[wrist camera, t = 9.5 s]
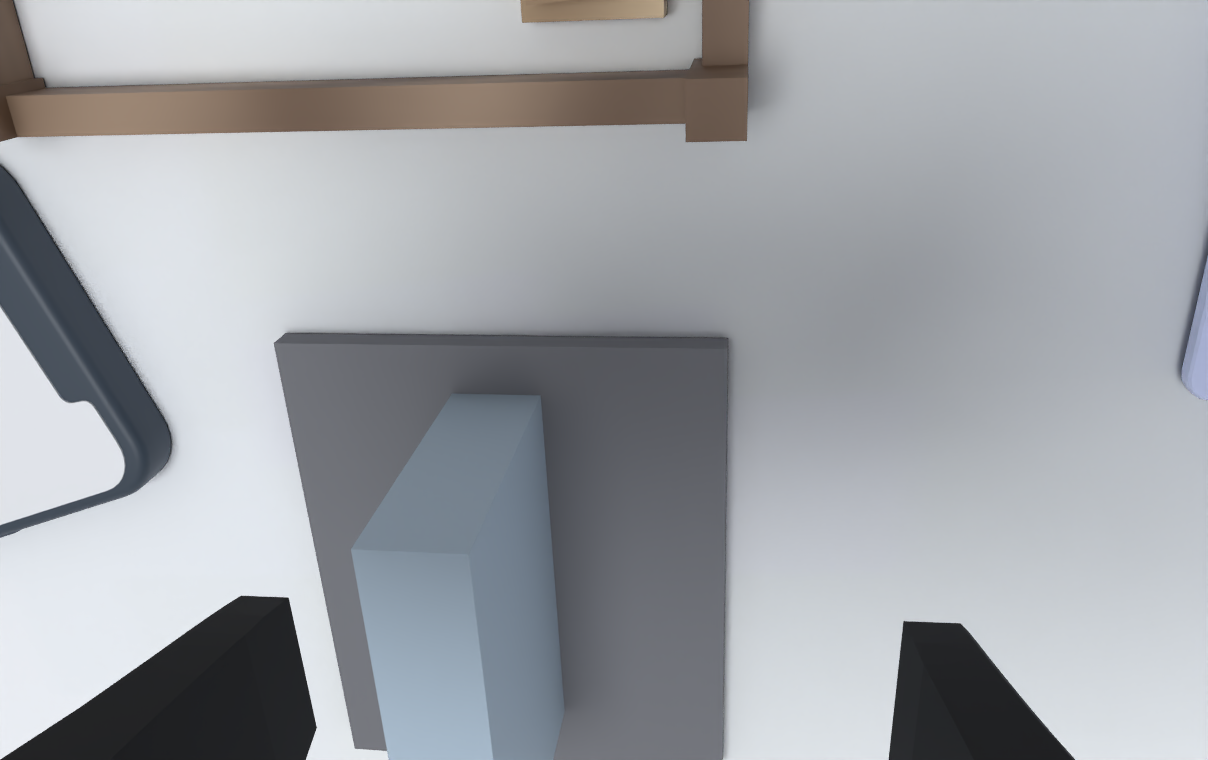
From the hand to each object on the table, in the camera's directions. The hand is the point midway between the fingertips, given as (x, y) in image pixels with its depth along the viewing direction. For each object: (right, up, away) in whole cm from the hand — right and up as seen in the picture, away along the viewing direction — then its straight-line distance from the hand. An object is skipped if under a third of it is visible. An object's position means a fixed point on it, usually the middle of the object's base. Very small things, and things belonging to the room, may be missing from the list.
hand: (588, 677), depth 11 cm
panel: (-2, -1, +12) cm, 12 cm away
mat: (-2, -1, +12) cm, 12 cm away
